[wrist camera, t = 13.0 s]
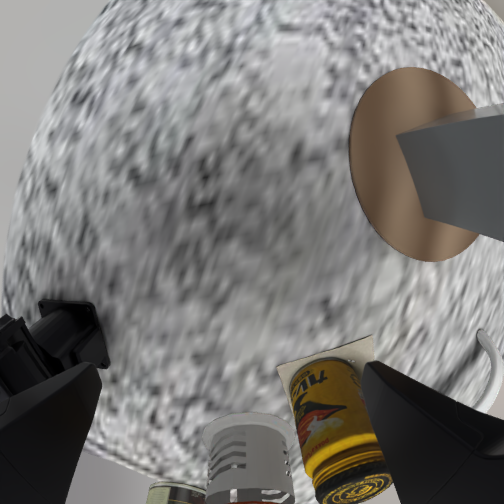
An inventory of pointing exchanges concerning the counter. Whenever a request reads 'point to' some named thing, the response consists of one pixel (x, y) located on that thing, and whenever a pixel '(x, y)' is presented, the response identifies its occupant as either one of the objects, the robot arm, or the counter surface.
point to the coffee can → (175, 494)
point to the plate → (402, 160)
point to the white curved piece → (495, 376)
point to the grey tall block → (460, 169)
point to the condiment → (336, 424)
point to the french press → (248, 458)
